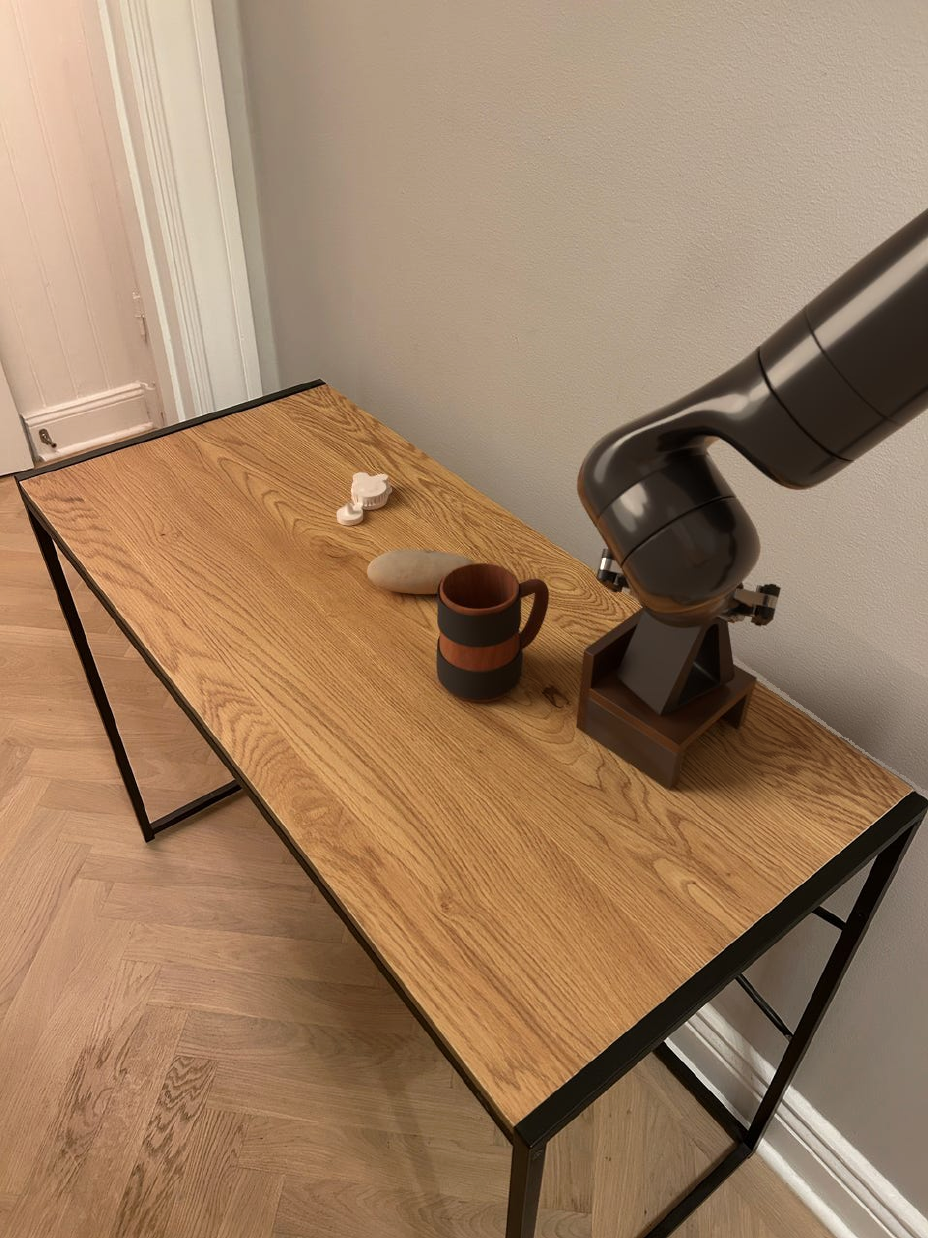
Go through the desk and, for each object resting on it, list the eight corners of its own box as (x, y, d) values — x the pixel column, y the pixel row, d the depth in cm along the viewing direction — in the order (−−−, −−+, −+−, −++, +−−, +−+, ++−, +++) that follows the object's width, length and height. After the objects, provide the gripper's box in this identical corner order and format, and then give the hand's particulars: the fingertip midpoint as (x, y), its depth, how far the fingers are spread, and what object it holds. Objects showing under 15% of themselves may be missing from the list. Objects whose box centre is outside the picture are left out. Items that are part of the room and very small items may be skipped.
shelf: (745, 722, 90) (765, 645, 84) (669, 791, 84) (685, 713, 77) (652, 667, 96) (665, 590, 90) (575, 727, 90) (583, 649, 83)
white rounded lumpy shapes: (327, 488, 123) (326, 474, 121) (392, 478, 124) (390, 464, 123) (339, 527, 116) (337, 513, 114) (407, 516, 117) (406, 502, 116)
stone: (365, 553, 107) (465, 521, 106) (383, 603, 109) (482, 572, 108) (359, 569, 102) (465, 536, 100) (379, 621, 104) (483, 589, 102)
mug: (566, 677, 95) (574, 587, 87) (461, 718, 91) (459, 626, 83) (523, 628, 101) (527, 539, 93) (422, 664, 97) (418, 574, 89)
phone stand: (689, 642, 89) (709, 538, 81) (734, 679, 85) (760, 574, 77) (615, 678, 85) (628, 572, 78) (659, 718, 82) (678, 611, 74)
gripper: (800, 538, 64) (786, 577, 79) (595, 496, 68) (620, 541, 84) (773, 645, 63) (764, 663, 79) (568, 596, 67) (599, 623, 83)
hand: (690, 600), depth 81 cm, fingers closed on phone stand, 6 cm apart
